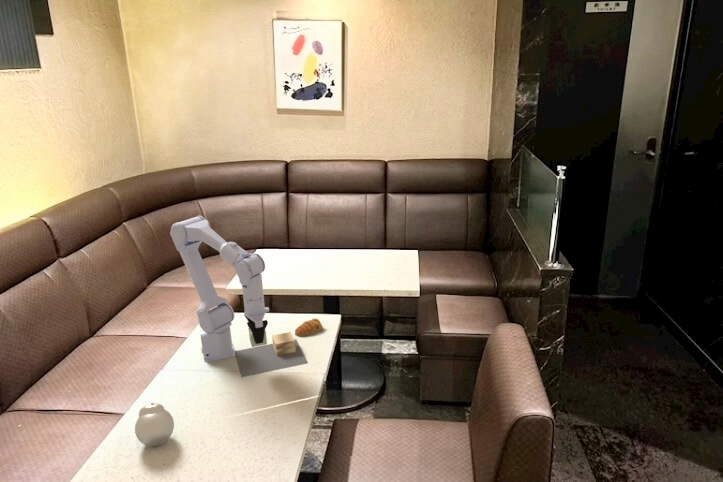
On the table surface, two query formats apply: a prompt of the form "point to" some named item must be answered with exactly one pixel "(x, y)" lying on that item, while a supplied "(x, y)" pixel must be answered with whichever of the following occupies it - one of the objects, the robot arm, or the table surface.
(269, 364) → the mat
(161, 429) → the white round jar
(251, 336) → the green block
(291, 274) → the table surface
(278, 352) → the tower base slab
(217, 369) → the table surface
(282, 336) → the tower top slab
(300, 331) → the pastry
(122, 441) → the table surface
